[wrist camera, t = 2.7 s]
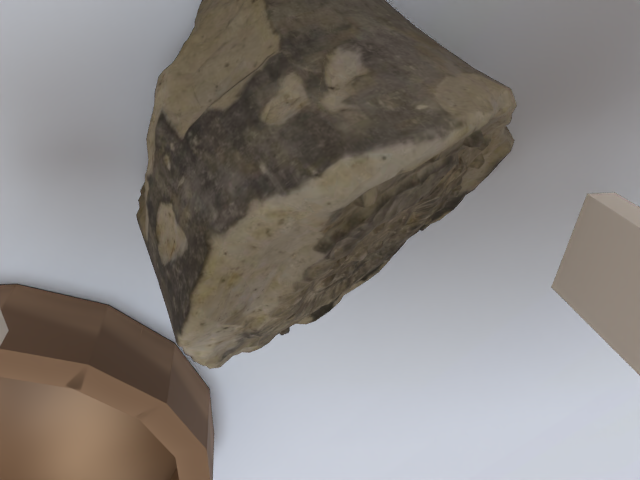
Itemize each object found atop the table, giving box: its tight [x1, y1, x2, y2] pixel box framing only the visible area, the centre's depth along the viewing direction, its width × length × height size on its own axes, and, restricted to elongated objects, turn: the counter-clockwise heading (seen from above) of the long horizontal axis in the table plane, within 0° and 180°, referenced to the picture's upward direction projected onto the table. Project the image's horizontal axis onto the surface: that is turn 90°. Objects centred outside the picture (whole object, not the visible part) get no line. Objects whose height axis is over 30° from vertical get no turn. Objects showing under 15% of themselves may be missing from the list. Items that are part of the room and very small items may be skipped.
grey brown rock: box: [136, 0, 517, 369], centre depth 13 cm, size 11×9×10 cm
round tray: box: [0, 284, 214, 480], centre depth 19 cm, size 15×15×3 cm
